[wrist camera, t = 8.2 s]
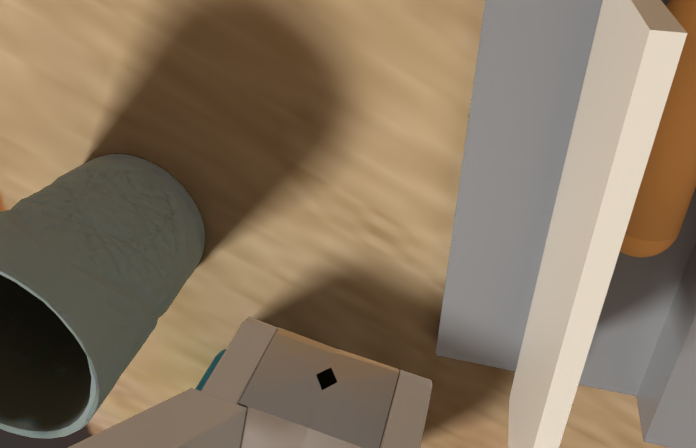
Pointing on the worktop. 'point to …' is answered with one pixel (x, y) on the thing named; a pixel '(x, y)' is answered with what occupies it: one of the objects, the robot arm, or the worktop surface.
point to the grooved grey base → (535, 217)
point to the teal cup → (87, 286)
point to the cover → (592, 209)
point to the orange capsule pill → (669, 155)
